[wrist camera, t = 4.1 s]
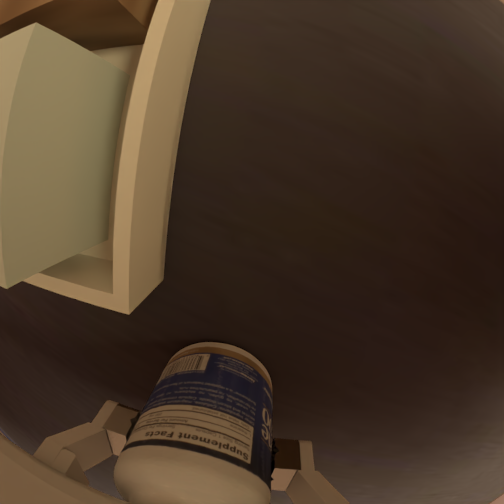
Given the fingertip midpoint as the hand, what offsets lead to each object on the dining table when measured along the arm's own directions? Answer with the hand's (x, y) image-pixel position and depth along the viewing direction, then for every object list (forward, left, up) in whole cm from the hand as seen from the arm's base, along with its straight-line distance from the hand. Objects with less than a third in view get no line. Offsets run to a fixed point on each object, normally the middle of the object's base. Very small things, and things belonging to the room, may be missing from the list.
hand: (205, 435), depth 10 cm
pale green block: (+9, -10, -3) cm, 14 cm away
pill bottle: (0, 0, -4) cm, 4 cm away
